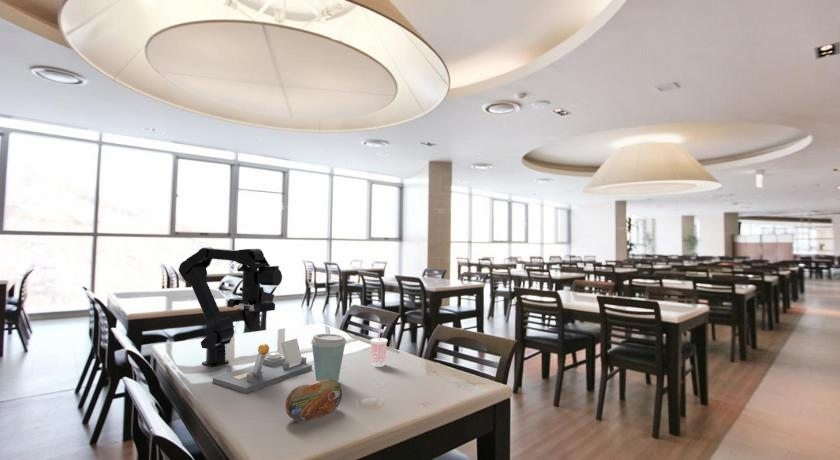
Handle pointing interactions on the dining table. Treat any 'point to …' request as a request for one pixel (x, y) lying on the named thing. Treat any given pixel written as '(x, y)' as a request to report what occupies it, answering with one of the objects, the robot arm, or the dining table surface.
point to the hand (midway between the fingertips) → (250, 329)
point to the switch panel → (261, 375)
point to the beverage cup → (378, 351)
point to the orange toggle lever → (260, 359)
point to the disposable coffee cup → (328, 355)
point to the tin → (313, 400)
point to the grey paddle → (291, 351)
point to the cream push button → (274, 356)
